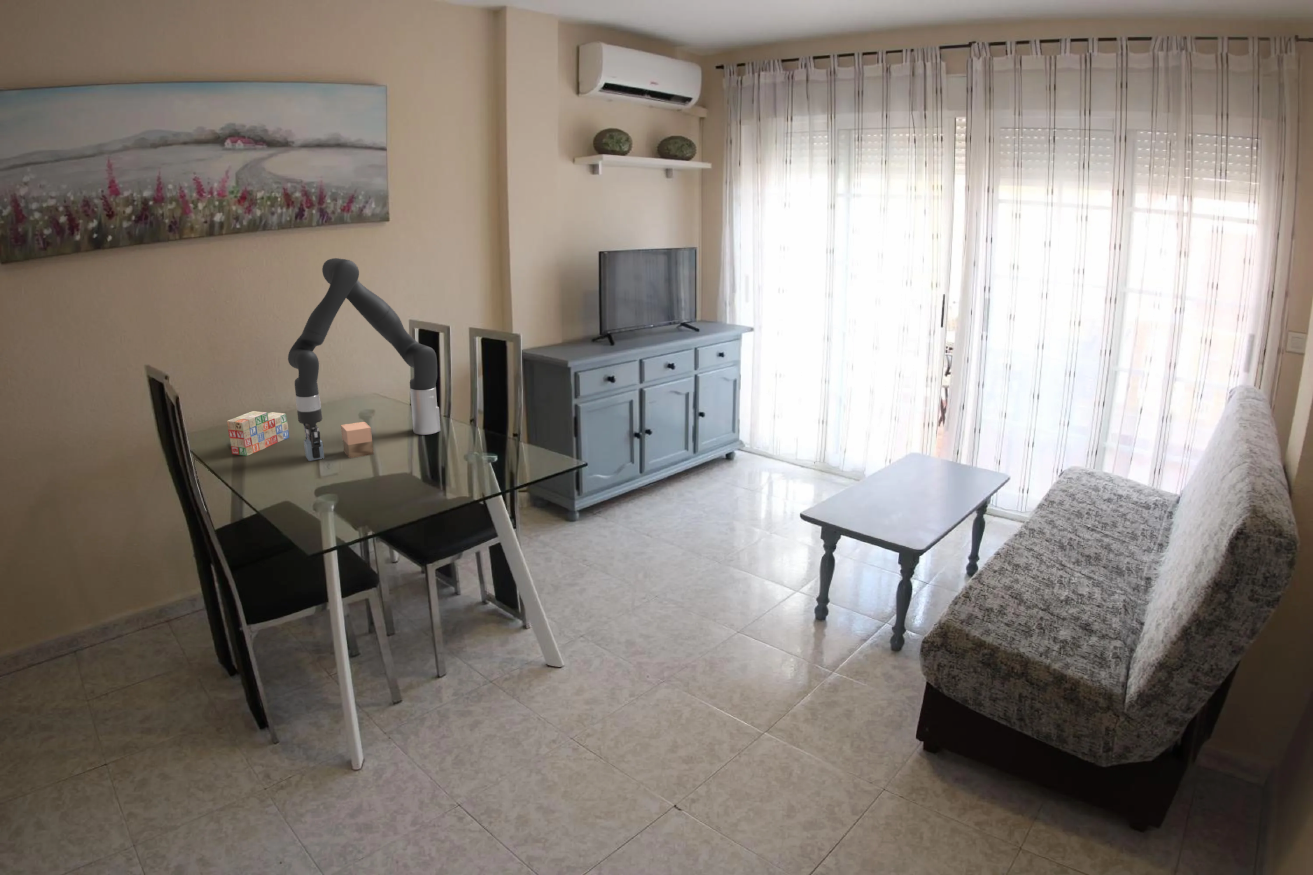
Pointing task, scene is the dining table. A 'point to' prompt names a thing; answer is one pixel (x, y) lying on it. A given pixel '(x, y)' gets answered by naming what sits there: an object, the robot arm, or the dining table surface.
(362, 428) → the tower top
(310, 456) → the slate block
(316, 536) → the dining table surface
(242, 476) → the dining table surface
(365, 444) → the tower base
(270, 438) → the stack of blocks
